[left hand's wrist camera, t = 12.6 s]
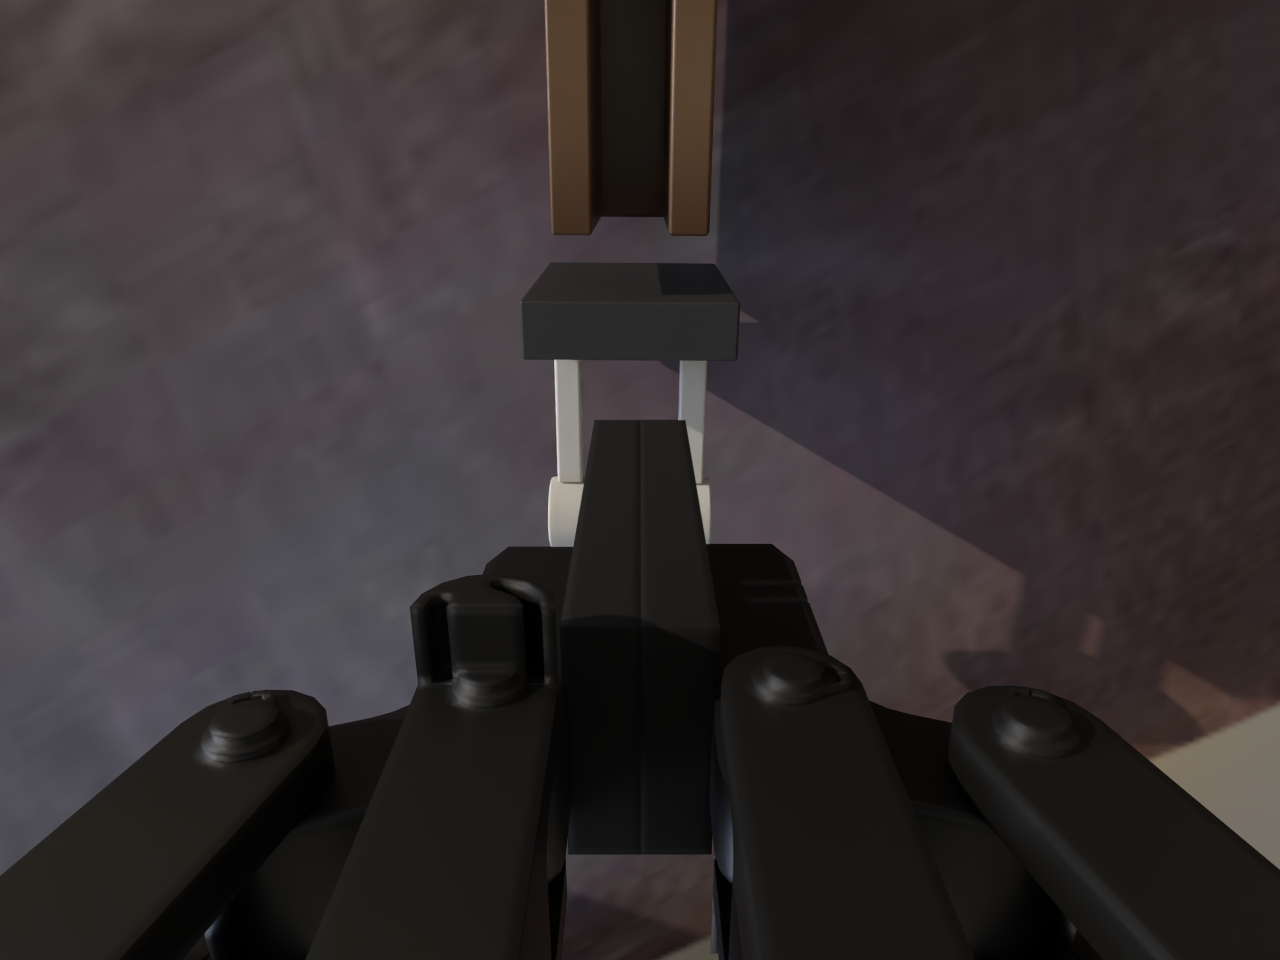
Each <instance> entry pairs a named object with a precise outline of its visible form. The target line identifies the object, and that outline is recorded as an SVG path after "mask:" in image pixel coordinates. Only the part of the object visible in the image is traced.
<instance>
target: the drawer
mask: <svg viewBox="0 0 1280 960" xmlns="http://www.w3.org/2000/svg"><path fill="white" fill-rule="evenodd" d="M544 1H545V36H546V70H547V105H548V139H549V174H550V208H551V232H552V234H554V235H590V234H591V233H592V231H593V230H594V228H595V226H596V224H597V223H598V221H599V219H600V217H601V216H606V217H664V220H665V223H666V225H667V228H668V231H669V234H670V235H672V236H706V235H708V233H709V225H710V197H711V168H712V140H713V112H714V83H715V55H716V26H717V0H544ZM739 315H740V303H739V302H738V300H737V298H736V297H735V295H734V294H733V292H732V291H731V289H730V287H729V286H728V284H727V283H726V281H725V280H724V278H723V277H722V275H721V273H720V272H719V270H718V269H717V267H716V266H715V264H679V263H550V264H549V265H548V266H547V268H546V269H545V270H544V272H543V273H542V274H541V275H540V277H539V278H538V279H537V281H536V282H535V283H534V284H533V286H532V287H531V288H530V290H529V291H528V292H527V293H526V295H525V296H524V297H523V299H522V300H521V301H520V320H521V343H522V358H523V359H525V360H554V364H555V398H556V432H557V466H558V477H552V479H551V482H550V488H549V502H548V529H549V541H550V545H551V547H573V545H574V539H575V533H576V528H577V522H578V516H579V510H580V504H581V498H582V492H583V486H584V480H585V477H583V475H584V452H583V395H582V360H663V361H680V375H679V416H678V420H686V426H687V432H688V438H689V444H690V450H691V456H692V462H693V468H694V474H695V480H696V486H697V492H698V498H699V504H700V510H701V516H702V522H703V528H704V533H705V539H706V544H710V540H711V524H712V500H711V485H710V481H709V478H703V460H704V432H705V405H706V377H707V361H736V360H737V356H738V336H739Z"/></svg>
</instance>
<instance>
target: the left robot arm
mask: <svg viewBox="0 0 1280 960" xmlns="http://www.w3.org/2000/svg"><path fill="white" fill-rule="evenodd" d="M410 613H411V622H412V632H413V641H414V650H415V659H416V668H417V677H418V686H417V689H416V691H415V694H414V696H413V699H412V701H411V703H410V705H408V706H406V707H403V708H401V709H399V710H396V711H394V712H391V713H387V714H384V715H380V716H376V717H373V718H368V719H363V720H358V721H354V722H349V723H344V724H339V725H334V726H328V720H327V714H326V709H325V708H324V707H323V706H322V705H321V704H320V703H319V702H318V701H317V700H316V699H315V698H314V697H311V696H308V695H305V694H302V693H299V692H296V691H293V690H262V691H253V692H252V693H249V692H247V693H243V694H239V695H235V696H233V697H231V698H228V699H226V700H223V701H220V702H218V703H215V704H213V705H210V706H208V707H206V708H204V709H203V710H201V711H200V712H198V713H196V714H195V715H193V716H192V717H190V718H189V719H187V720H186V721H184V722H183V723H181V724H180V725H179V726H178V727H176V728H175V729H174V730H173V731H172V732H171V733H169V734H168V735H167V736H166V737H165V738H163V739H162V740H161V741H160V742H159V743H158V744H156V745H155V746H154V747H153V748H152V749H150V750H149V751H148V752H147V753H146V754H144V755H143V756H142V757H141V758H140V759H139V760H137V761H136V762H135V763H134V764H133V765H131V766H130V767H129V768H128V769H127V770H125V771H124V772H123V773H122V774H121V775H120V776H118V777H117V778H116V779H115V780H114V781H112V782H111V783H110V784H109V785H108V786H107V787H105V788H104V789H103V790H102V791H101V792H99V793H98V794H97V795H96V796H95V797H93V798H92V799H91V800H90V801H89V802H88V803H86V804H85V805H84V806H83V807H82V808H80V809H79V810H78V811H77V812H76V813H75V814H73V815H72V816H71V817H70V818H69V819H67V820H66V821H65V822H64V823H63V824H61V825H60V826H59V827H58V828H57V829H56V830H54V831H53V832H52V833H51V834H50V835H48V836H47V837H46V838H45V839H44V840H43V841H41V842H40V843H39V844H38V845H37V846H35V847H34V848H33V849H32V850H31V851H29V852H28V853H27V854H26V855H25V856H24V857H22V858H21V859H20V860H19V861H18V862H16V863H15V864H14V865H13V866H12V867H10V868H9V869H8V870H7V871H6V872H5V873H3V874H2V875H1V876H0V960H561V956H562V945H563V935H564V924H565V913H566V903H567V882H566V858H565V857H566V848H567V838H568V854H712V834H713V843H714V853H715V858H714V882H713V907H712V932H711V953H718V955H719V960H1280V870H1279V869H1278V868H1277V867H1276V866H1275V865H1273V864H1272V863H1271V862H1270V861H1269V860H1267V859H1266V858H1265V857H1264V856H1263V855H1261V854H1260V853H1259V852H1258V851H1257V850H1255V849H1254V848H1253V847H1252V846H1251V845H1249V844H1248V843H1247V842H1246V841H1245V840H1243V839H1242V838H1241V837H1240V836H1239V835H1237V834H1236V833H1235V832H1234V831H1233V830H1231V829H1230V828H1229V827H1228V826H1227V825H1225V824H1224V823H1223V822H1222V821H1221V820H1220V819H1218V818H1217V817H1216V816H1215V815H1214V814H1212V813H1211V812H1210V811H1209V810H1208V809H1206V808H1205V807H1204V806H1203V805H1202V804H1200V803H1199V802H1198V801H1197V800H1196V799H1194V798H1193V797H1192V796H1191V795H1190V794H1188V793H1187V792H1186V791H1185V790H1184V789H1182V788H1181V787H1180V786H1179V785H1178V784H1176V783H1175V782H1174V781H1173V780H1172V779H1170V778H1169V777H1168V776H1167V775H1166V774H1164V773H1163V772H1162V771H1161V770H1160V769H1159V768H1157V767H1156V766H1155V765H1154V764H1153V763H1151V762H1150V761H1149V760H1148V759H1147V758H1145V757H1144V756H1143V755H1142V754H1141V753H1139V752H1138V751H1137V750H1136V749H1135V748H1133V747H1132V746H1131V745H1130V744H1129V743H1127V742H1126V741H1125V740H1124V739H1123V738H1121V737H1120V736H1119V735H1118V734H1117V733H1115V732H1114V731H1113V730H1112V729H1111V728H1109V727H1108V726H1107V725H1106V724H1105V723H1104V722H1102V721H1101V720H1100V719H1099V718H1097V717H1096V716H1094V715H1092V714H1091V713H1089V712H1088V711H1086V710H1085V709H1083V708H1082V707H1080V706H1078V705H1077V704H1075V703H1074V702H1071V701H1068V700H1066V699H1063V698H1061V697H1058V696H1055V695H1053V694H1050V693H1048V692H1046V691H1042V690H1038V689H1034V688H1031V689H1029V688H1028V687H1020V686H987V687H984V688H981V689H978V690H975V691H972V692H969V693H966V695H965V696H964V697H963V698H962V699H961V700H960V701H959V702H958V703H957V704H956V705H955V707H954V714H953V720H952V723H950V722H945V721H940V720H935V719H931V718H926V717H921V716H916V715H911V714H907V713H903V712H899V711H896V710H892V709H888V708H886V707H883V706H881V705H879V704H876V703H874V702H872V701H869V700H868V697H867V695H866V692H865V690H864V688H863V685H862V683H861V682H860V680H859V679H858V678H857V676H856V675H855V674H854V672H853V671H852V670H851V668H849V667H848V666H846V665H845V664H843V663H841V662H840V661H838V660H837V659H835V658H833V657H832V656H830V655H828V652H827V649H826V647H825V644H824V641H823V639H822V636H821V633H820V631H819V628H818V625H817V623H816V620H815V617H814V615H813V612H812V609H811V607H810V604H809V603H808V601H807V596H806V593H805V590H804V588H803V586H801V580H800V577H799V574H798V572H797V569H796V566H795V564H794V561H793V560H791V559H790V558H789V557H788V556H786V555H785V554H784V553H782V552H781V551H780V550H779V549H777V548H776V547H775V546H774V545H772V544H706V539H705V533H704V528H703V522H702V516H701V510H700V504H699V498H698V492H697V486H696V480H695V474H694V468H693V462H692V456H691V450H690V444H689V438H688V432H687V426H686V420H594V426H593V432H592V438H591V444H590V450H589V456H588V462H587V468H586V474H585V480H584V486H583V492H582V498H581V504H580V510H579V516H578V522H577V528H576V533H575V539H574V545H573V547H508V548H506V549H505V550H504V551H503V552H501V553H500V554H499V555H498V556H496V557H495V558H494V559H493V560H491V561H490V562H489V563H487V564H486V567H485V570H484V573H483V575H473V576H466V577H462V578H458V579H455V580H451V581H448V582H444V583H441V584H439V585H437V586H436V587H434V588H432V589H430V590H428V591H426V592H424V593H423V594H421V595H420V597H419V598H418V599H417V600H416V601H415V602H414V603H413V604H412V605H411V607H410Z"/></svg>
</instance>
